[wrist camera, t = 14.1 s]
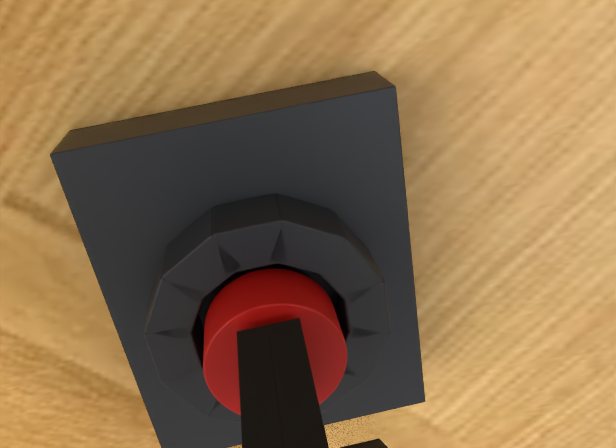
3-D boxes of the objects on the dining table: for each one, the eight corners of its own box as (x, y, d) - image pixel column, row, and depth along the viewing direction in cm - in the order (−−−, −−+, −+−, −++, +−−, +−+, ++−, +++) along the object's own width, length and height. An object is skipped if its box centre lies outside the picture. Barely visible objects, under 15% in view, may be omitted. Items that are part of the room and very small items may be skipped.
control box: (69, 130, 16) (27, 179, 13) (375, 70, 17) (418, 101, 13) (171, 415, 21) (161, 508, 18) (406, 361, 22) (444, 442, 18)
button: (190, 283, 15) (186, 322, 13) (325, 254, 15) (337, 289, 14) (221, 388, 16) (221, 434, 15) (343, 361, 17) (356, 403, 15)
